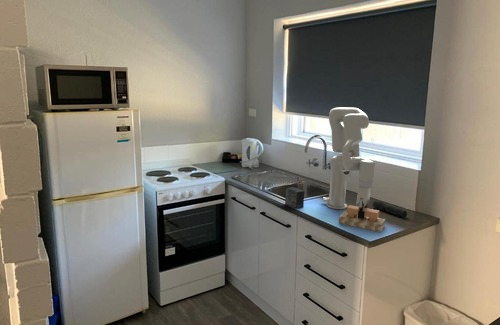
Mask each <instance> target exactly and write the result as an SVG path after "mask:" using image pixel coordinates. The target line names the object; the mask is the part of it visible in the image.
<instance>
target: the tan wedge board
mask: <svg viewBox="0 0 500 325" xmlns="http://www.w3.org/2000/svg"><path fill="white" fill-rule="evenodd" d="M358 209H359V205H352V204H349V205H347V208H346V213H348V217H351V218H356V215H358ZM364 211H365V214H364V216H366V217H369V221H371V222H376V219H377V218H380V217H379V216H380V210H378V209H375V208H374V209H373V208H368V207H367V208H364Z"/></svg>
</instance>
